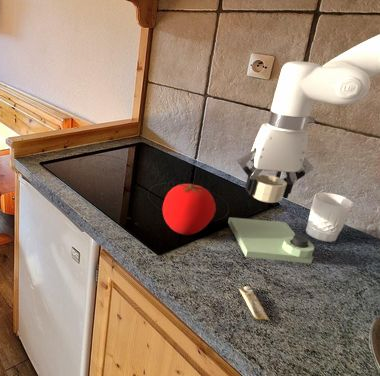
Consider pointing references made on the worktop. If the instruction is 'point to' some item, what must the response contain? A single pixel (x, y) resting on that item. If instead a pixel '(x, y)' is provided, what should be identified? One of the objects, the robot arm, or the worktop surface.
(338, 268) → the worktop surface
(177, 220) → the tomato
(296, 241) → the tare button
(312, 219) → the white cup
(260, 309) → the snack bar
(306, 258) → the scale
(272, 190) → the bowl
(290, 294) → the worktop surface
